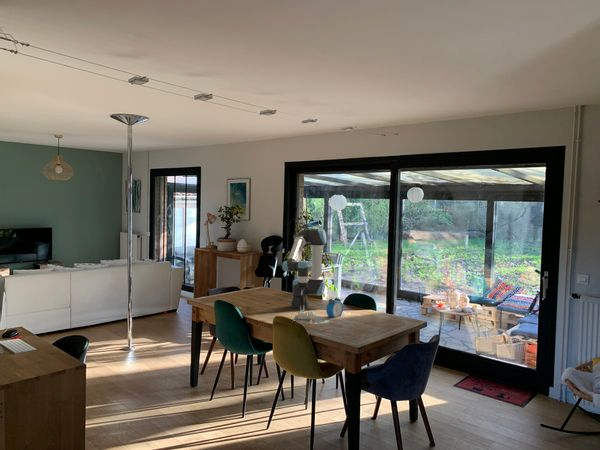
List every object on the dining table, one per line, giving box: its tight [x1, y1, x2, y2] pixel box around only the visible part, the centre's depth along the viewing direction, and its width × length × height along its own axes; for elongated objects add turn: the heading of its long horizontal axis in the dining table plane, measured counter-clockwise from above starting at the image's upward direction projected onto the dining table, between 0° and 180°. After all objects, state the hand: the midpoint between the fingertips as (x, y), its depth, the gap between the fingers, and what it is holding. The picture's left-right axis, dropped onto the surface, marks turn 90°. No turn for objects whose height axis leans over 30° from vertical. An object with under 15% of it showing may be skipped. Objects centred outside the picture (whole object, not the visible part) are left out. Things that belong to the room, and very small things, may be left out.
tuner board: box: [293, 314, 331, 325], centre depth 333 cm, size 24×26×2 cm
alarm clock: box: [325, 297, 344, 318], centre depth 346 cm, size 13×6×15 cm, turn 136°
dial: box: [297, 309, 317, 325], centre depth 330 cm, size 16×13×6 cm
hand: (302, 313), depth 341 cm, fingers closed
